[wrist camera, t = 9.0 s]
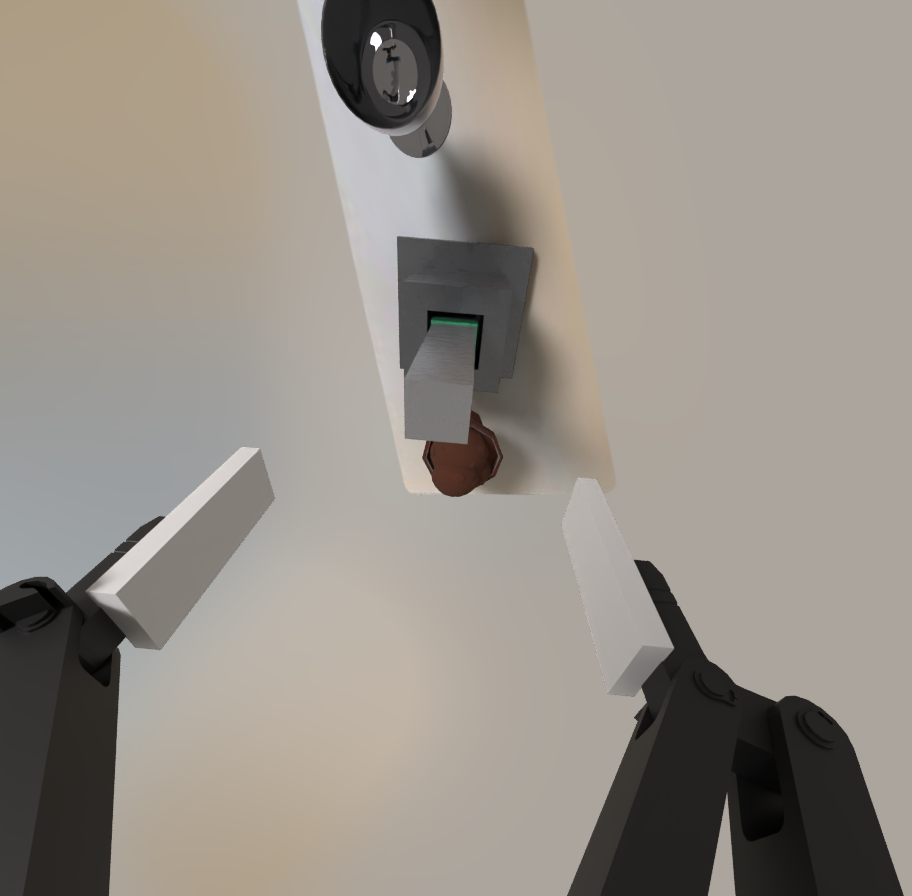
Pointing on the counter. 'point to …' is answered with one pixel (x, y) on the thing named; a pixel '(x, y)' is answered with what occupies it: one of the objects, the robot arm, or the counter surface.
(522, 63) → the counter surface
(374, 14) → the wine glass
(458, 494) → the ice cream bowl
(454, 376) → the post
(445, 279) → the stand housing
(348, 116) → the counter surface
